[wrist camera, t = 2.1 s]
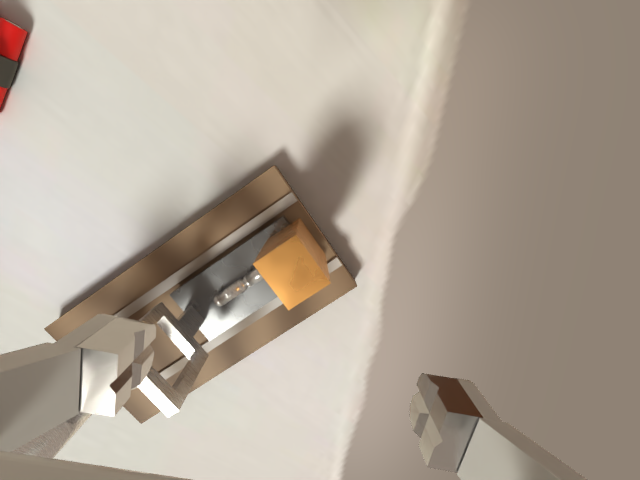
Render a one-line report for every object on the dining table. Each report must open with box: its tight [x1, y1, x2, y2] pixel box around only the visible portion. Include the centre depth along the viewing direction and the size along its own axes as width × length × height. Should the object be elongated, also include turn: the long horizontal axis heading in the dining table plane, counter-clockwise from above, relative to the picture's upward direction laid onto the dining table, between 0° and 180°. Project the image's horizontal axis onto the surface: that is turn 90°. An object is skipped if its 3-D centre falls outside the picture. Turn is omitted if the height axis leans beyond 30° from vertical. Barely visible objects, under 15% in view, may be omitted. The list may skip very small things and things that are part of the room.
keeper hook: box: [11, 386, 138, 459], centre depth 20 cm, size 9×3×11 cm, turn 124°
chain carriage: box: [137, 215, 331, 417], centre depth 20 cm, size 12×5×9 cm, turn 124°
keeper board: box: [44, 166, 357, 423], centre depth 26 cm, size 24×12×2 cm, turn 124°
